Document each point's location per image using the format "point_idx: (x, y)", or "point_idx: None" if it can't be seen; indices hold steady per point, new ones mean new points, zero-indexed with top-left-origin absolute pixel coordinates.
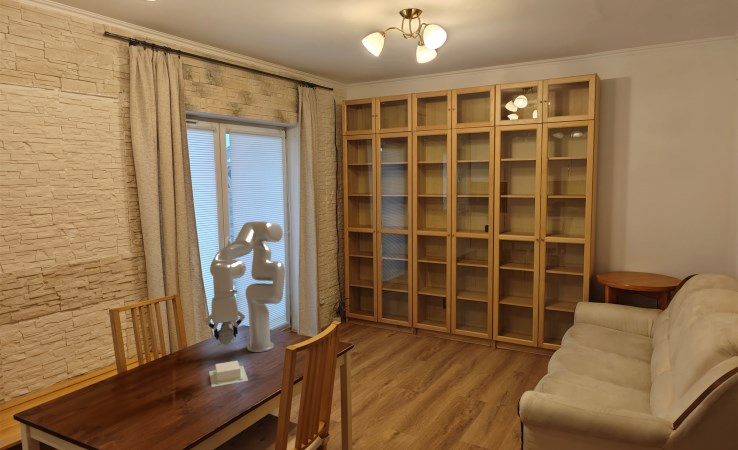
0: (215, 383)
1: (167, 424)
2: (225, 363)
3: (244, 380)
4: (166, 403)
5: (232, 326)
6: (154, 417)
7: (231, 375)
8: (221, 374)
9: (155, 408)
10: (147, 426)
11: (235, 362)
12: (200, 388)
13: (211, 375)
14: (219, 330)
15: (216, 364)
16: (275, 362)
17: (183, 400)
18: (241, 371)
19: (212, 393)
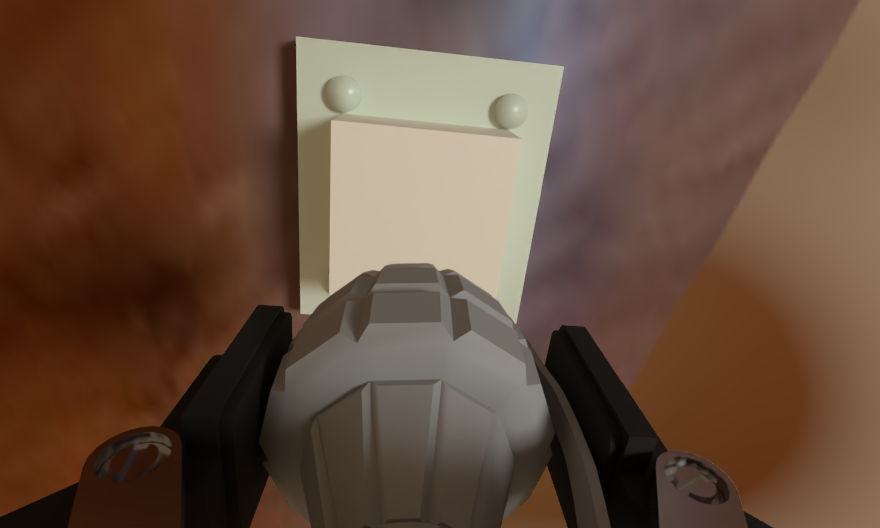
0: (326, 281)
1: None
2: (415, 150)
3: None
4: (61, 336)
5: (583, 475)
6: (34, 441)
7: None
8: None
9: (13, 363)
10: (24, 494)
11: (495, 173)
12: (240, 243)
13: (309, 137)
14: (293, 445)
15: (339, 133)
16: (800, 71)
17: (152, 343)
18: (519, 175)
19: None
